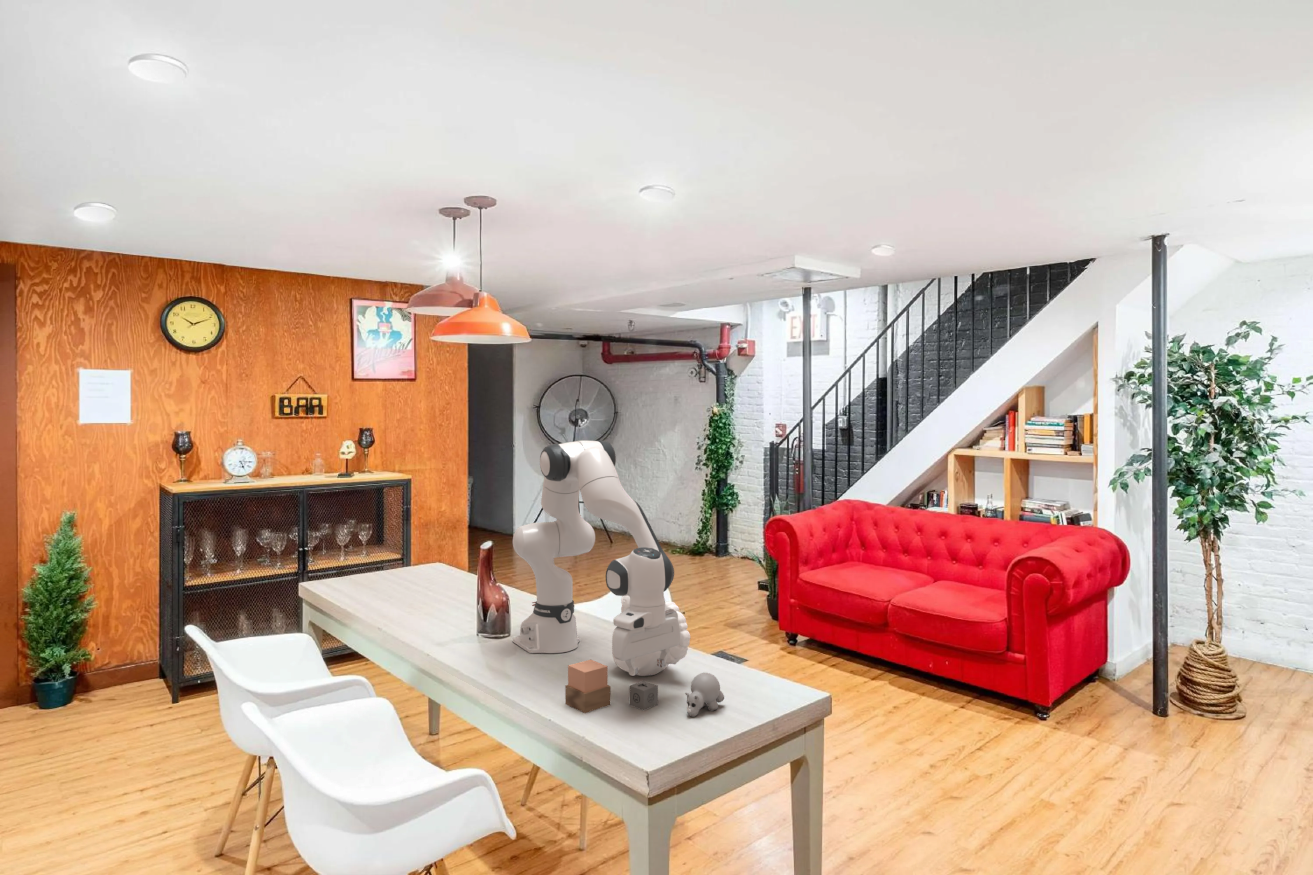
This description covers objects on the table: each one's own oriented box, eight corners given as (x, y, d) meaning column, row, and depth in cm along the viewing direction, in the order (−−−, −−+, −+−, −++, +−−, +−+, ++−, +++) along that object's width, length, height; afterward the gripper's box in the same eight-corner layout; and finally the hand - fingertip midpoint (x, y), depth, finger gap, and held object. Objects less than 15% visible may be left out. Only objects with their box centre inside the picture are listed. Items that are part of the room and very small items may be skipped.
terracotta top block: (568, 685, 190) (568, 665, 190) (590, 678, 195) (590, 659, 195) (584, 692, 185) (584, 672, 185) (607, 686, 190) (607, 666, 190)
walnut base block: (565, 704, 190) (565, 685, 190) (590, 696, 196) (590, 677, 196) (584, 714, 185) (584, 693, 184) (610, 705, 190) (610, 685, 190)
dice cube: (643, 699, 193) (643, 680, 193) (657, 705, 190) (657, 685, 190) (629, 705, 190) (629, 685, 190) (643, 710, 186) (643, 690, 186)
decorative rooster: (602, 668, 217) (602, 581, 217) (648, 657, 226) (648, 574, 226) (652, 694, 197) (652, 599, 196) (700, 682, 206) (700, 590, 205)
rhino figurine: (679, 722, 186) (670, 694, 183) (706, 691, 194) (698, 663, 191) (703, 730, 181) (694, 701, 178) (729, 697, 189) (722, 669, 187)
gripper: (668, 605, 198) (668, 658, 198) (607, 619, 184) (608, 676, 184) (686, 609, 193) (686, 663, 193) (625, 624, 179) (625, 683, 179)
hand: (647, 670), depth 188 cm, fingers open, 8 cm apart
